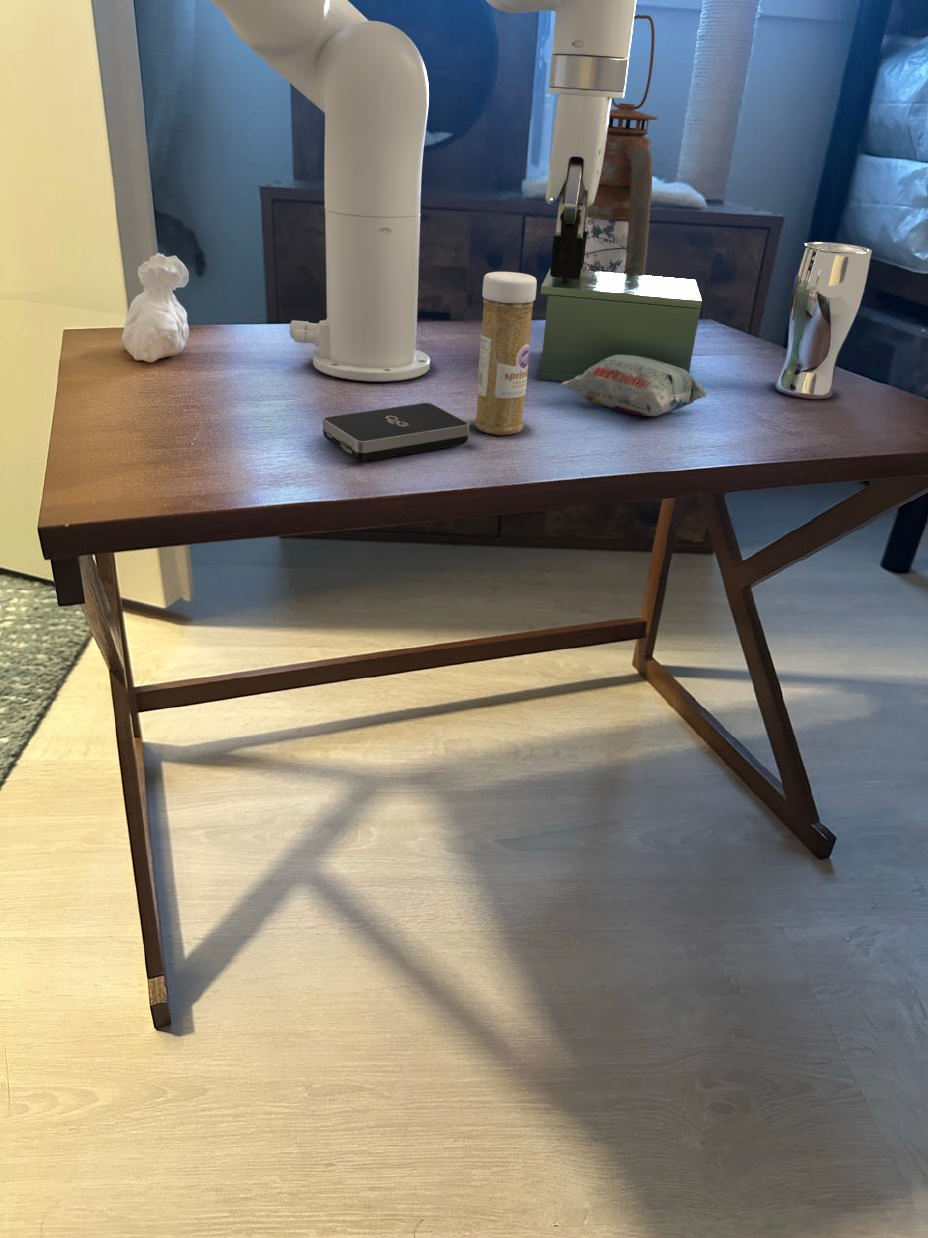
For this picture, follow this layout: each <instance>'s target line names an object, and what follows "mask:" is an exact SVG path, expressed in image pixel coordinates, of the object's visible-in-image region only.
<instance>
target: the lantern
mask: <svg viewBox="0 0 928 1238" xmlns="http://www.w3.org/2000/svg"><path fill="white" fill-rule="evenodd" d="M637 19H639V20H642V19H643V20H644V19H647V20H648V21H649V24H650V28H651V29H650V30H651V33H650V34H651V38H650V39H651V42H650V43H651V45H650V60H649V67H648V76H647V81H646V87H645V92H644V94H643V97H642V100H641V102H640V103H639V104H638V105H636V104H635V103H622V102H619V103H618V104H617V103H616V101H615V98H612V99H611V105H613V106H614V107H615V108H617V109H610V115H609V122H608V130H607V138H606V145H605V152H604V158H603V164H602V170H601V175H600V180H599V184H598V189H597V192H596V196H595V200H594V202H593V204H592V205H591V206H589V207H588V212H587V221H586V229H585V231H587V239H586V247H585V256H584V264H583V268H582V270H586V271H593V270H594V271H597V272H609V273H613V272H614V273H621V274H631V275H642V276H646V269H647V257H648V247H649V235H650V219H651V205H652V190H653V157H652V153H651V149H650V148H651V143H652V139H651V138H649V137H647V136H645V135H648V134H649V133H650V132H649V131H648V128H649V121H657V120H658V117H657V116H654V115H651V114H648V113H644V112H641V111H637V110H639V109H640V108H642V106H644V104H645V102H646V100H647V97H648V93H649V90H650V85H651V79H652V73H653V66H654V57H655V56H654V55H655V25H654V23H655V22H654V20H653V18H652V16H650V15H648V14H642V15H640V14H639V13H638V14H636V15H634V20H637ZM614 120H618V121H617V126H614ZM624 121H625V126H623V125H624ZM632 121H635V127H631V122H632ZM645 125H646V126H645ZM609 221H614V222H615V223H614V225H613V223H612V224H611V222H609ZM611 226H613V231H611V232H609V234H610V235H612V236H609V235H608V234H607V233H605V231H604V229H607V228H608V227H611ZM595 228H596V229H598V228H599V230H601V231H602V233H600V234H598V237H597V236H596V237H595V236H594V230H595ZM583 231H584V230H583ZM618 263H620V264H619V265H618ZM611 264H616V266H615V267H616V268H615V269H613V267H610V266H611ZM595 266H596V267H598V268H599V269H598V268H596V267H595ZM601 267H603V268H601Z"/></svg>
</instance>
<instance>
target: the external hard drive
mask: <svg viewBox="0 0 928 1238" xmlns="http://www.w3.org/2000/svg"><path fill="white" fill-rule="evenodd" d="M469 430H470V423H469V422H468V421H466V420H464V419H462V418H460V417H459V416H457V415H455V414H453V413H451V412H449V411H447V410H445V409H443V408H441V407H439V406H438V405H436V404H434V403H431V402H419V403H412V404H406V405H399V406H391V407H385V408H377V409H369V410H364V411H357V412H349V413H342V414H335V415H328V416H324V417H322V434H323V437H324V438H325V439H326V440H327V441H329V442H331V443H332V444H333V445H335V446H336V447H338V448H339V449H341V450H343V451H344V452H346V453H347V454H348V455H350V456H351V457H353V458H354V459H356V460H357V461H359V462H368V461H374V460H380V459H386V458H391V457H398V456H403V455H410V454H416V453H421V452H427V451H433V450H439V449H443V448H444V449H445V448H450V447H455V446H461V445H465V444H466V443H467V442H468V440H469V433H470V431H469Z"/></svg>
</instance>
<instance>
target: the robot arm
mask: <svg viewBox="0 0 928 1238" xmlns="http://www.w3.org/2000/svg"><path fill="white" fill-rule="evenodd" d="M209 1H210V2H211V3H212V4H213V5H214V6H215V7H216V8H218V9H219V11H220V12H222V14H224V16H225V17H226V19H227V21H228V23H229V24H230V27H231V28H232V30H233V31H234V33H235V34H236V35H237V36H238V38H239V39H240V40H241V41H243V43H244V44H245V45H246V46H247V47H249V49H251V50H252V51H253V52H254V53H255V54H256V55H257V56H258V57H259V58H261V59H262V60H263V61H264V62H265V63H266V64H268V65H269V66H270V67H271V68H272V69H273V70H274V71H276V73H278V74H279V75H280V76H281V77H282V78H283V79H285V80H286V82H288V83H289V84H291V85H292V87H294V88H295V89H296V90H297V91H298V92H300V93H301V94H302V95H303V96H304V97H305V98H307V100H309V101H310V102H311V103H312V104H313V105H315V107H317V108H318V109H320V111H322V112H323V113H324V160H323V161H324V162H323V163H324V165H323V169H324V170H323V171H324V175H323V177H324V178H323V179H324V181H323V182H324V185H323V188H324V190H323V191H324V216H325V219H324V220H325V221H324V222H325V277H326V278H325V280H326V281H325V283H326V284H325V285H326V288H325V289H326V319H324V320H322V319H321V320H319V322H318V323H314V322H309V321H306V320H305V321H304V320H295V319H293V320H291V321H290V326H289V336H290V338H291V339H293V341H294V342H295V343H300V344H301V343H302V344H315V346H316V347H317V348H318V349H316V350H315V351H314V353H313V354H312V365H313V367H314V368H315V369H316V370H317V371H319V372H321V373H323V374H325V375H328V376H331V377H334V378H340V379H342V380H343V379H344V380H350V381H357V382H358V381H359V382H375V383H376V382H377V383H381V382H383V383H384V382H398V381H399V382H400V381H407V380H411V379H416V378H418V377H421V376H423V375H425V374H426V373H428V371H429V370H430V367H431V359H430V357H429V356H428V354H427V353H425V352H423V351H422V350H419V349H417V331H418V328H417V327H418V303H419V302H418V301H419V300H418V299H419V273H420V272H419V267H420V242H421V241H420V240H421V239H420V238H421V237H420V236H421V235H420V234H421V201H422V200H421V198H422V197H421V195H422V174H423V173H422V172H423V158H424V148H425V141H426V131H427V122H428V113H429V99H430V98H429V97H430V92H429V90H430V89H429V79H428V73H427V69H426V65H425V62H424V59H423V57H422V55H421V53H420V50H419V49H418V47H417V46H416V44H415V43H414V41H413V39H411V38H410V37H409V36H408V35H407V34H406V33H405V32H404V31H402V30H401V29H399V28H397V27H396V26H394V25H392V24H390V23H387V22H383V21H379V20H369V19H368V18H367V17H365V16H364V14H362V13H361V11H359V9H357V8H356V7H355V6H354V5H353V4H352V3H351V2H350V1H349V0H209ZM485 1H486V2H487V4H488V5H490V6H491V7H493V8H494V9H496V10H498V11H501V12H503V13H506V14H507V13H508V14H524V13H534V12H535V13H536V12H554V13H555V14H554V15H555V16H554V24H553V25H554V27H553V39H552V49H551V59H550V71H549V81H548V91H547V93H548V94H552V95H553V94H554V95H558V96H557V97H558V98H557V102H556V109H555V114H554V121H553V128H552V129H553V130H552V138H551V145H550V146H551V148H550V157H549V166H548V175H547V184H546V193H545V202H546V203H547V204H548V205H553V203H554V202H555V201H556V200H557V199H558V198H559V202H558V211H557V219H556V228H555V229H556V230H555V235H554V236H553V241H552V249H551V250H552V251H551V260H550V268H551V269H550V268H549V270H550V275H551V276H552V277H556V278H567V279H579V278H580V275H581V270H582V268H583V264H584V256H585V247H586V239H587V231H585V229H586V221H587V212H588V207H589V206H591V205H592V204H593V202H594V200H595V196H596V192H597V189H598V184H599V180H600V175H601V170H602V164H603V158H604V152H605V145H606V138H607V130H608V126H609V115H610V110H611V106H612V101H611V99H612V98H614V99H625V91H626V86H627V85H626V84H627V77H628V69H629V68H628V67H629V59H630V51H631V45H632V36H633V28H634V21H635V19H634V16H635V13H636V5H637V0H485ZM583 230H584V231H583Z"/></svg>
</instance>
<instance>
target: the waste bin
mask: <svg viewBox="0 0 928 1238" xmlns="http://www.w3.org/2000/svg"><path fill="white" fill-rule="evenodd" d="M545 312H546V313H545V323H544V332H543V341H542V342H543V343H542V352H541V361H540V373H539V380H541V381H551V382H552V381H553V382H561V383H563V382H565V381H569V380H573V379H574V378H575V377H577V376H578V375H582V374H583V373H584V372H585V371H586V370H588V369H589V368H590V367H592V366H594V365H595V364H597V363H599V362H600V361H602V360H603V359H606V358H609V357H611V356H614V355H617V354H621V355H633V356H640V357H644V358H649V359H653V360H656V361H660V362H663V363H666V364H670V365H673V366H676V367H679V368H682V369H685V370H686V371H687V372H688V373H689V374H690V369H691V364H692V363H691V362H692V358H693V353H694V348H695V342H696V335H697V331H698V324H699V321H700V313H701V308H700V309H699V308H689V307H678V306H667V305H656V304H645V303H634V302H623V301H612V300H602V299H591V298H580V297H569V296H558V295H547V302H546V311H545Z"/></svg>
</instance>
